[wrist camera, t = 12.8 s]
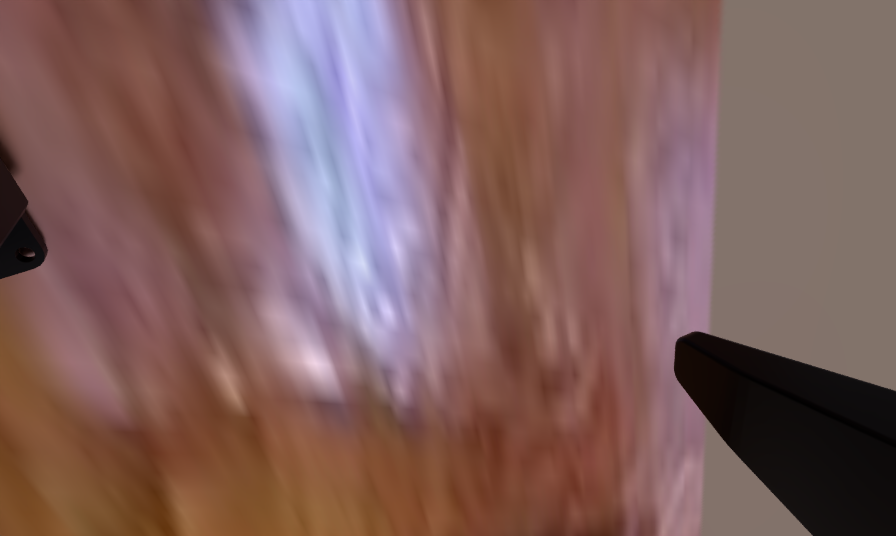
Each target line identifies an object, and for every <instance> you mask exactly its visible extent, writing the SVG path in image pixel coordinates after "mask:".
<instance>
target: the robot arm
mask: <svg viewBox="0 0 896 536" xmlns="http://www.w3.org/2000/svg"><path fill="white" fill-rule="evenodd" d="M27 205H28V200H27V199H26V197H25V195H24V194H23V192H22V191H21V189H20V188H19V186H18V185H17V183H16V181H15V180H14V178H13V177H12V175H11V174H10V172H9V171H8V169H7V167H6V166H5V164H4V163H3V161H2V160H1V158H0V279H2V278H5V277H9V276H12V275H15V274H18V273H22V272H25V271H28V270H31V269H34V268H36V267H38V266H40V265H41V264H42V263H43V262H44V260H45V258H46V256H47V251H48V249H47V246H46V244H45V242H44V241H43V239H42V238H41V236H40V235H39V233H38V232H37V230H36V229H35V227H34V226H33V224H32V222H31V221H30V219H29V218H28V216H27V215H26V213H25V210H26V207H27ZM24 247H26V248H29V249H31V250H32V251H34V253H35V256H32V257H27V256H24V255H22V254H21V253H20V252H19V248H24ZM674 372H675V376H676V378H677V380H678V382H679V383H680V384H681V386H682V387H683V388H684V389H685V391H686V392H687V393H688V395H689V396H690V397H691V399H692V400H693V401H694V402H695V404H696V405H697V406H698V408H699V409H700V410H701V412H702V413H703V414H704V415H705V417H706V418H707V419H708V421H709V422H710V423H711V424H712V426H713V427H714V428H715V430H716V431H717V432H718V433H719V435H720V436H721V437H722V438H723V440H724V441H725V442H726V443H727V445H728V446H729V447H730V448H731V449H732V450H733V451H734V452H735V453H736V455H737V456H738V457H739V458H740V459H741V460H742V461H743V462H744V463H745V464H746V465H747V466H748V467H749V468H750V469H751V470H752V472H753V473H754V474H755V475H756V476H757V477H758V478H759V479H760V480H761V481H762V482H763V483H764V484H765V485H766V487H767V488H769V490H770V491H771V492H772V493H773V494H774V495H775V496H776V497H777V498H778V499H779V500H780V501H781V502H782V503H783V504H784V506H786V508H787V509H788V510H789V511H790V512H791V513H792V514H793V515H794V516H795V517H796V518H797V519H798V520H799V522H800V523H802V525H803V526H804V527H805V528H806V529H807V530H808V531H809V532H810V533H811V534H812V535H813V536H896V391H894V390H891V389H888V388H884V387H881V386H878V385H874V384H871V383H868V382H864V381H861V380H858V379H855V378H851V377H848V376H844V375H841V374H838V373H835V372H831V371H828V370H825V369H822V368H818V367H815V366H812V365H808V364H805V363H802V362H799V361H795V360H792V359H789V358H785V357H782V356H779V355H775V354H772V353H769V352H765V351H762V350H759V349H756V348H752V347H749V346H746V345H742V344H739V343H736V342H733V341H729V340H726V339H722V338H719V337H716V336H713V335H709V334H706V333H703V332H698V331H696V332H691V333H689V334H687V335H685V336H682V337H680V338H679V339H678V340H677V341H676V345H675V360H674Z"/></svg>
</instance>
